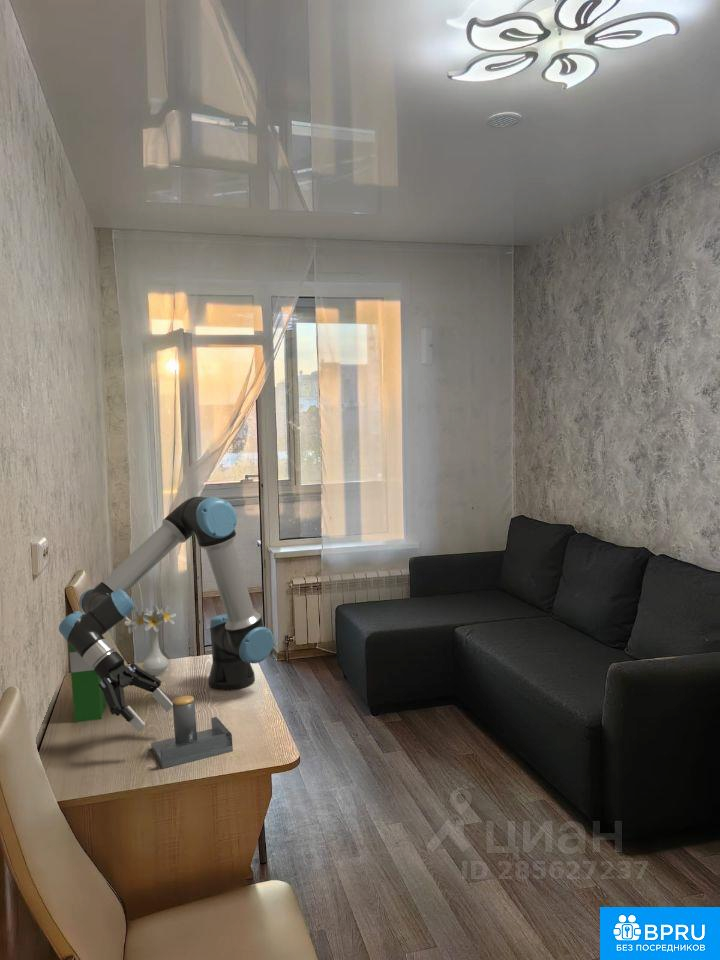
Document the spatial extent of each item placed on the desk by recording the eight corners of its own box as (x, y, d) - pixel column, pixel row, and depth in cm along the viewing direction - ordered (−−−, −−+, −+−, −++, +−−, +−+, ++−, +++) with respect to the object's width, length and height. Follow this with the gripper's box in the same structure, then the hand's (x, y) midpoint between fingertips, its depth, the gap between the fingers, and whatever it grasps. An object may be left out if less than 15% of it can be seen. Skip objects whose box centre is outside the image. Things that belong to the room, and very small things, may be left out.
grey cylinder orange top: (194, 737, 197) (191, 693, 196) (199, 744, 192) (196, 700, 191) (173, 742, 194) (170, 698, 194) (178, 750, 189) (175, 704, 189)
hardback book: (82, 702, 234) (76, 627, 232) (107, 698, 235) (101, 625, 234) (74, 722, 217) (68, 642, 215) (101, 718, 218) (95, 639, 217)
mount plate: (217, 732, 203) (216, 716, 203) (232, 751, 191) (231, 734, 190) (151, 748, 195) (150, 732, 195) (162, 768, 183) (161, 751, 182)
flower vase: (127, 673, 261) (122, 607, 260) (177, 665, 267) (173, 600, 266) (129, 683, 249) (124, 614, 248) (182, 674, 256) (177, 607, 254)
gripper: (124, 655, 212) (173, 709, 208) (65, 684, 188) (120, 746, 184) (139, 637, 210) (189, 692, 206) (81, 665, 186) (137, 727, 183)
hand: (156, 718), depth 195 cm, fingers open, 13 cm apart
